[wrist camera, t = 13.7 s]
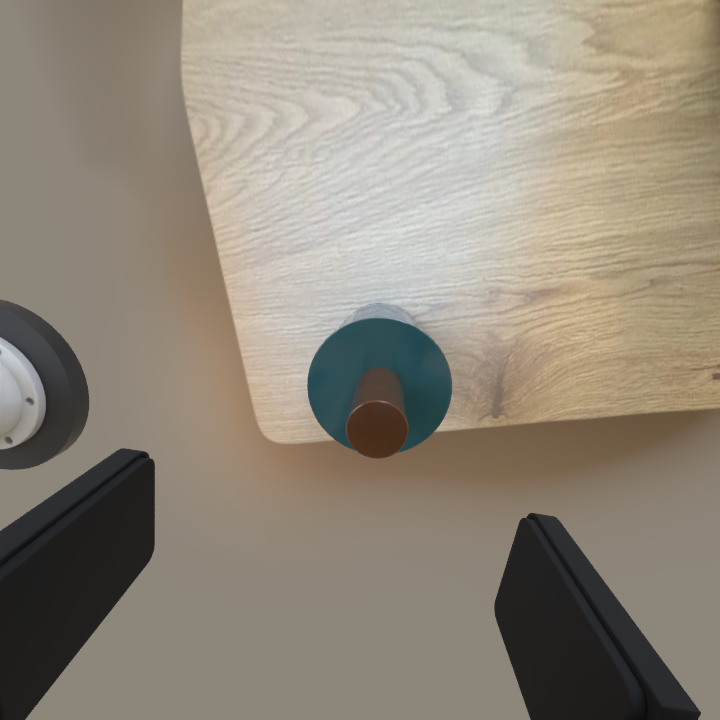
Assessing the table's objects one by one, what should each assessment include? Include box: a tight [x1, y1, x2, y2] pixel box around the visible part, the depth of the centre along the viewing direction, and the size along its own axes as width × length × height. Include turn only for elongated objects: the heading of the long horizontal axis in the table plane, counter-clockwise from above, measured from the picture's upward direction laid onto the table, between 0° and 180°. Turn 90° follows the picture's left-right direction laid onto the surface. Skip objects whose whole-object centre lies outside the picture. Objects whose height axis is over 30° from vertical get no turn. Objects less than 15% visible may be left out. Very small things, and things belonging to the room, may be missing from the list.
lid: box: [307, 317, 452, 458], centre depth 19 cm, size 9×9×7 cm
